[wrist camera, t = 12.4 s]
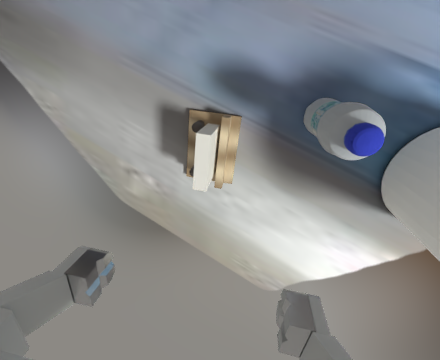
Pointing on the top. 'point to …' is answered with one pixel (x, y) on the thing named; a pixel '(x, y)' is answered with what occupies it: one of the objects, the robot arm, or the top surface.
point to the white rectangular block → (205, 156)
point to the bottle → (345, 128)
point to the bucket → (416, 188)
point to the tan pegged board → (225, 144)
